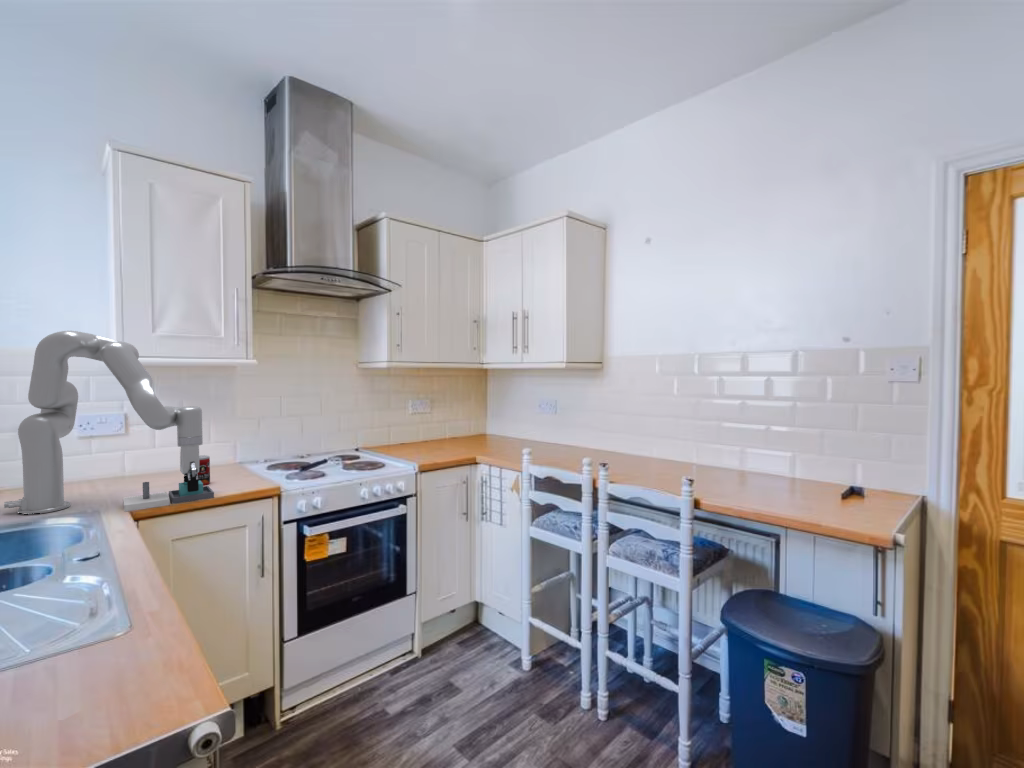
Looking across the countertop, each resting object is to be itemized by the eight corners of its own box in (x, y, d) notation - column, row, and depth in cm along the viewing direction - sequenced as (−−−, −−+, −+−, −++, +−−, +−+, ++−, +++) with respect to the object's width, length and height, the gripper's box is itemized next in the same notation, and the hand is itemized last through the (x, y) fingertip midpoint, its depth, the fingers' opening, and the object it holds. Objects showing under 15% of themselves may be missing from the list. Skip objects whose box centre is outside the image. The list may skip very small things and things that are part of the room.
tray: (172, 503, 166) (172, 498, 166) (168, 496, 176) (168, 491, 176) (214, 497, 174) (213, 492, 174) (208, 491, 184) (208, 485, 183)
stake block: (124, 511, 157) (123, 488, 157) (123, 503, 167) (122, 481, 166) (169, 504, 165) (169, 482, 165) (166, 497, 174) (165, 476, 174)
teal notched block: (181, 499, 170) (180, 486, 170) (178, 495, 175) (178, 483, 175) (203, 496, 174) (203, 483, 174) (200, 492, 180) (200, 480, 179)
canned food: (192, 487, 189) (191, 459, 188) (184, 484, 194) (183, 457, 193) (213, 484, 195) (213, 456, 194) (205, 481, 200) (204, 454, 199)
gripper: (174, 439, 178) (175, 485, 179) (180, 445, 165) (181, 495, 166) (198, 437, 183) (199, 482, 184) (206, 442, 170) (207, 491, 171)
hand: (191, 488), depth 175 cm, fingers open, 9 cm apart
